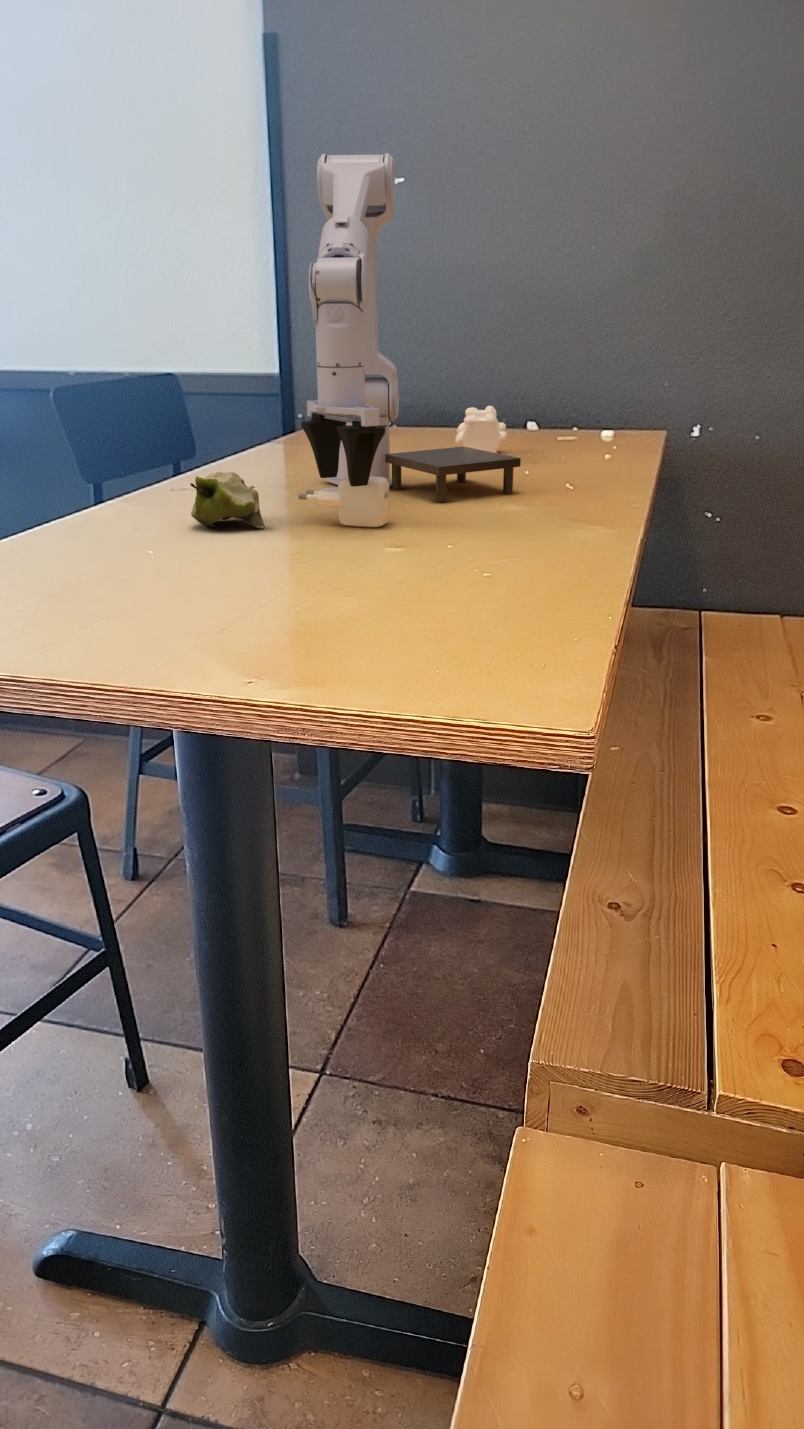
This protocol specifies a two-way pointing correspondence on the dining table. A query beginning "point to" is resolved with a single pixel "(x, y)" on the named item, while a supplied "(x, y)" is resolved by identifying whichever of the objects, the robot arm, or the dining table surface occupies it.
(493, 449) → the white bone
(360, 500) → the power adapter
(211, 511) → the fruit
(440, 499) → the stool
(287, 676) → the dining table surface
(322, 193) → the robot arm
